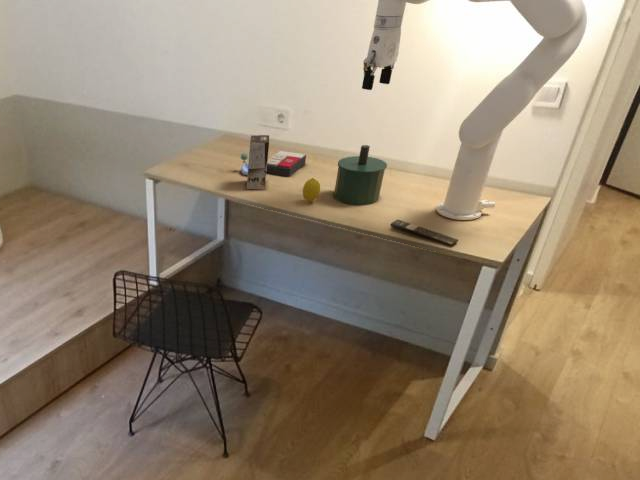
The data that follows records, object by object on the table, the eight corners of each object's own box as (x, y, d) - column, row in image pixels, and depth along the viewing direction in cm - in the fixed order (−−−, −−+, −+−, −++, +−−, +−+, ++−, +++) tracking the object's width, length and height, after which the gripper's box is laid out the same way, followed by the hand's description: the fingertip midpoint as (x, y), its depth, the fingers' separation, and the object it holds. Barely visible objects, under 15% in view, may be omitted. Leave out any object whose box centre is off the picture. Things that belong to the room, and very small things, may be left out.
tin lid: (379, 159, 206) (383, 138, 202) (391, 174, 194) (396, 153, 190) (333, 160, 207) (336, 139, 203) (342, 175, 195) (346, 154, 191)
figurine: (238, 170, 233) (239, 152, 229) (255, 168, 233) (257, 150, 229) (243, 177, 227) (245, 158, 222) (261, 175, 227) (263, 157, 223)
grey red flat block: (262, 162, 228) (279, 149, 237) (261, 173, 230) (278, 160, 239) (290, 166, 222) (306, 153, 231) (289, 178, 225) (305, 164, 234)
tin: (372, 188, 212) (378, 157, 205) (383, 204, 201) (390, 172, 194) (330, 189, 213) (335, 159, 207) (338, 205, 202) (344, 173, 195)
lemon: (321, 201, 205) (325, 177, 200) (312, 206, 202) (316, 182, 197) (306, 197, 208) (309, 174, 203) (297, 202, 205) (301, 179, 200)
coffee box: (264, 190, 215) (269, 142, 206) (246, 189, 217) (249, 142, 207) (265, 180, 222) (269, 134, 213) (247, 180, 224) (251, 134, 214)
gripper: (383, 27, 171) (371, 93, 182) (415, 19, 180) (401, 83, 190) (360, 25, 176) (348, 89, 186) (392, 17, 185) (379, 79, 195)
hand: (375, 86), depth 188 cm, fingers open, 9 cm apart
